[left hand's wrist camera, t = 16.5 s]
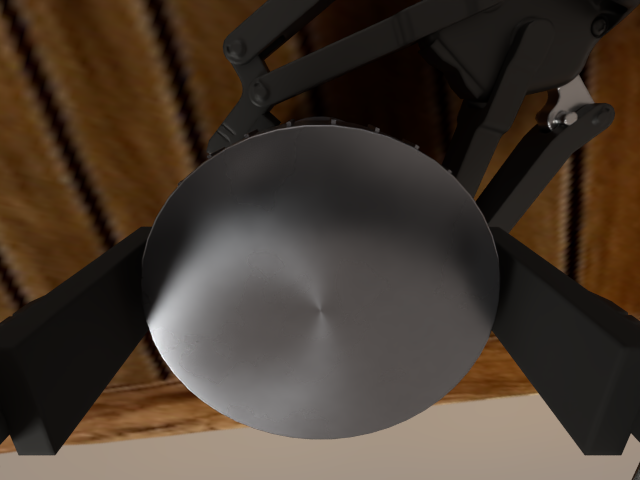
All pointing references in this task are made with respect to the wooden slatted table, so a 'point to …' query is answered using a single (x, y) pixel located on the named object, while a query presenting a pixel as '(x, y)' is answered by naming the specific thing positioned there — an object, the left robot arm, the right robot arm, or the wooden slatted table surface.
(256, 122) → the right robot arm
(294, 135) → the lid
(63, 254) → the wooden slatted table surface
